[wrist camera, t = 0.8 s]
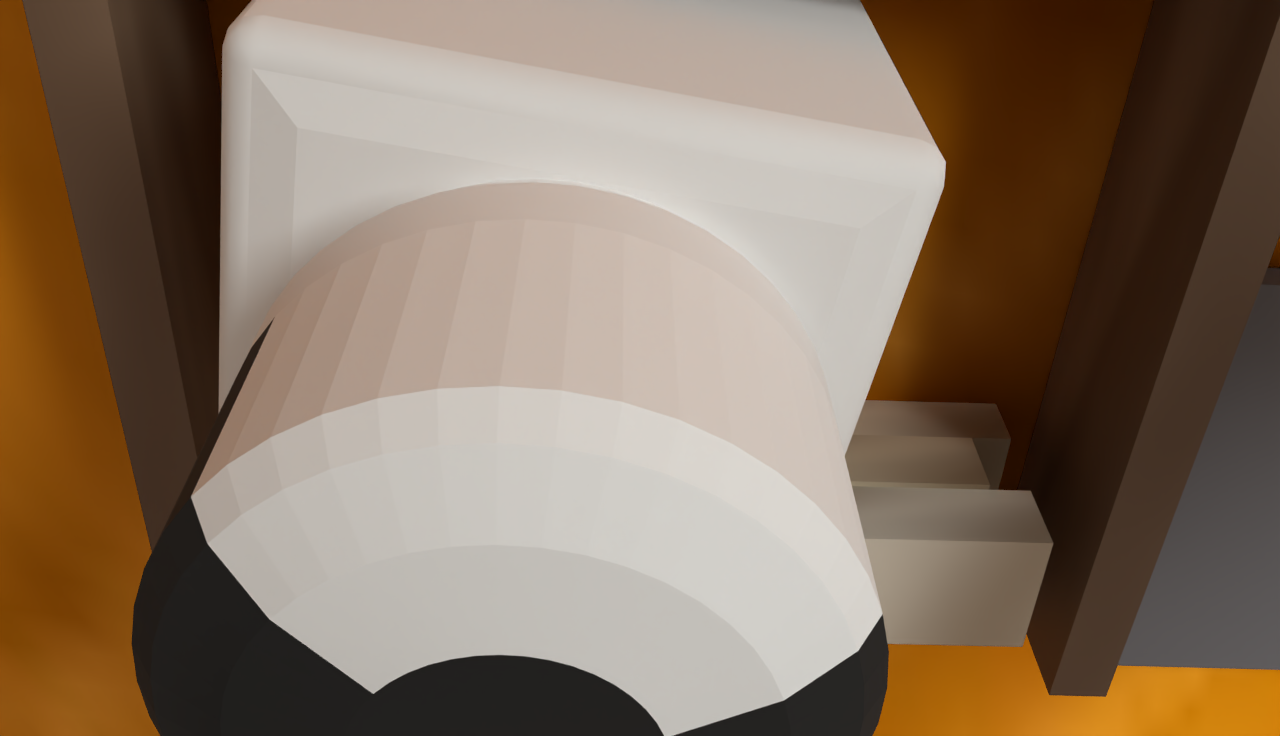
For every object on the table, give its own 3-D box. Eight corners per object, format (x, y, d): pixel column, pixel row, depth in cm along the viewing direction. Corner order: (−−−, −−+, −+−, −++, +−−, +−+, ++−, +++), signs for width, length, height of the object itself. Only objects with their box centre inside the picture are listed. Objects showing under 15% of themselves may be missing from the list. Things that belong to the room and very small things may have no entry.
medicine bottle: (735, 361, 22) (827, 1055, 12) (328, 295, 21) (49, 979, 11) (851, -41, 18) (1144, 478, 8) (358, -142, 17) (-36, 290, 7)
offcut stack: (993, 396, 22) (1054, 538, 19) (968, 497, 24) (1022, 646, 20) (312, 377, 22) (257, 518, 19) (326, 481, 23) (277, 630, 20)
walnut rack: (1271, -158, 17) (1404, -98, 14) (1047, 559, 24) (1106, 696, 21) (98, -215, 16) (-17, -166, 13) (235, 536, 24) (180, 672, 21)
